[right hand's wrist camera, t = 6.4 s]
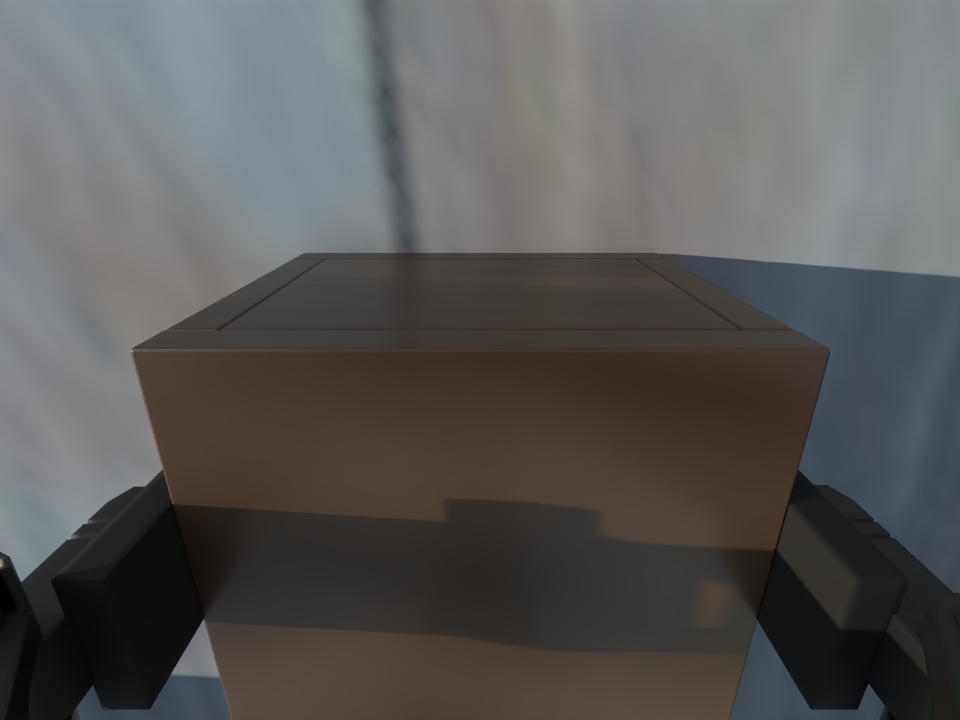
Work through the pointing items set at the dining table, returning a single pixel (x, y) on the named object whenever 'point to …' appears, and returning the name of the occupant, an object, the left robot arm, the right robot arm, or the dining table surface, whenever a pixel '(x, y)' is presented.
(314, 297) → the cabinet
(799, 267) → the dining table surface
